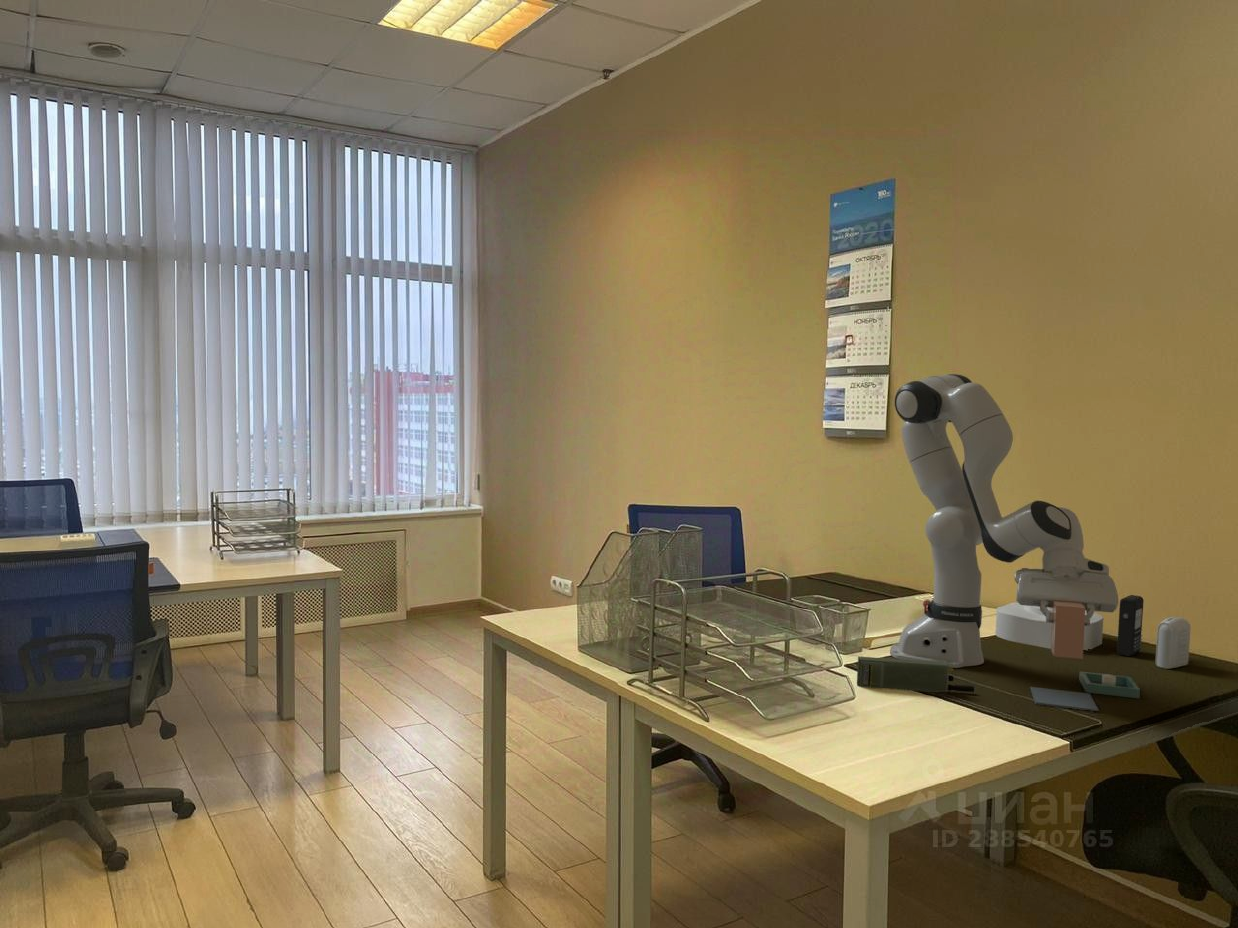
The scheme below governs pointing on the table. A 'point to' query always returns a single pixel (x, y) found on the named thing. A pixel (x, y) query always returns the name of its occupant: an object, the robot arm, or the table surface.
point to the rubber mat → (1063, 699)
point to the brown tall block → (1068, 629)
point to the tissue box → (1039, 626)
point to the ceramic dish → (1109, 684)
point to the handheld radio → (906, 675)
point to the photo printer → (1173, 643)
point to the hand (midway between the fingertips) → (1067, 622)
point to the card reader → (1130, 625)
